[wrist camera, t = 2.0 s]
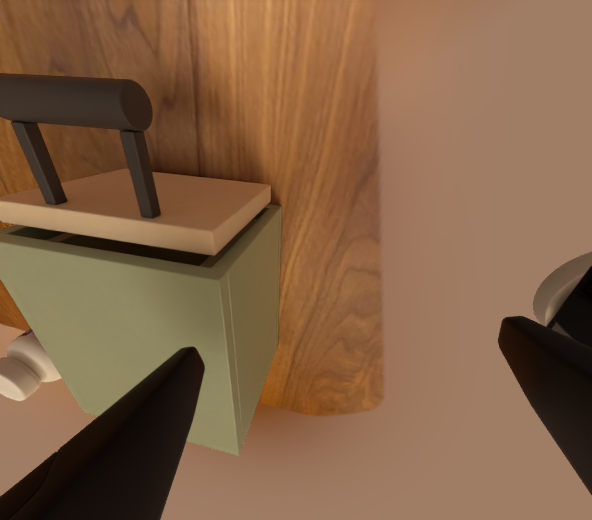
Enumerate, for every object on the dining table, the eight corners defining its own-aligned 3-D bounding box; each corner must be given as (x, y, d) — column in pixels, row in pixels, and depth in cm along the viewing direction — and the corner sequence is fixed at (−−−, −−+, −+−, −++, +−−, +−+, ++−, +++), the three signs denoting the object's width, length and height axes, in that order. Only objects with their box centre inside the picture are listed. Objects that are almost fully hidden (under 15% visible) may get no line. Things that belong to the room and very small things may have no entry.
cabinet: (132, 187, 21) (-27, 237, 12) (282, 205, 19) (219, 280, 10) (167, 321, 28) (82, 412, 20) (278, 344, 26) (238, 456, 18)
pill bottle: (106, 292, 28) (0, 366, 20) (129, 329, 30) (44, 409, 22) (70, 294, 29) (-42, 363, 21) (95, 329, 32) (3, 404, 24)
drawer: (103, 88, 17) (-92, 66, 10) (271, 97, 15) (191, 80, 8) (161, 308, 26) (84, 382, 19) (270, 329, 24) (232, 421, 17)
